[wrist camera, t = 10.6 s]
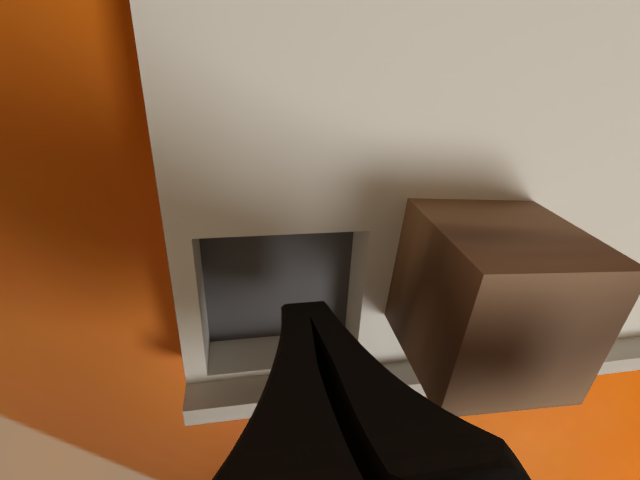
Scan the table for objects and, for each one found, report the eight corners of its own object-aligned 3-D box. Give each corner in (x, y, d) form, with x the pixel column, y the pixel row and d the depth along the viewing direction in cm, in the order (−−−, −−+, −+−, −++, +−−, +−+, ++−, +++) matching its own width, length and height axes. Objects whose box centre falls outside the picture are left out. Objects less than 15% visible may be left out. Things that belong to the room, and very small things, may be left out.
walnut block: (495, 309, 16) (581, 404, 12) (384, 314, 15) (438, 418, 11) (533, 200, 14) (651, 271, 10) (407, 198, 13) (483, 274, 9)
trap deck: (710, 309, 21) (781, 352, 19) (193, 359, 17) (184, 426, 14) (892, -1, 15) (1042, -7, 12) (137, -62, 10) (101, -94, 8)
